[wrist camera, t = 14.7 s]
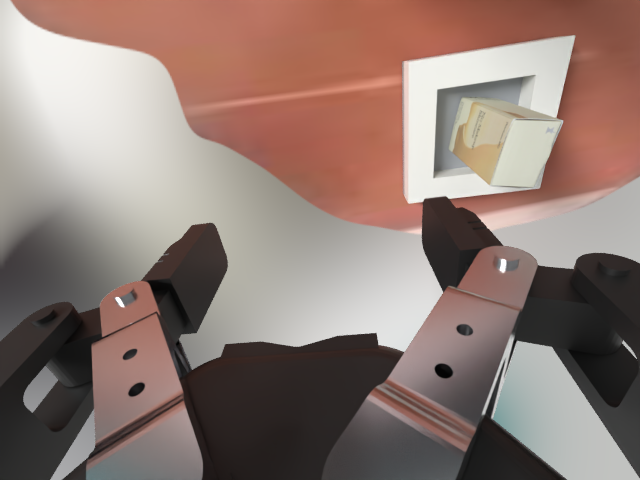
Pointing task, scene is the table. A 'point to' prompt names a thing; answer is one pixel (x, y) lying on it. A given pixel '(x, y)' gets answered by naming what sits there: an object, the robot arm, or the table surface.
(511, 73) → the bottle stand
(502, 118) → the skincare box
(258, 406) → the robot arm
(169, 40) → the table surface
